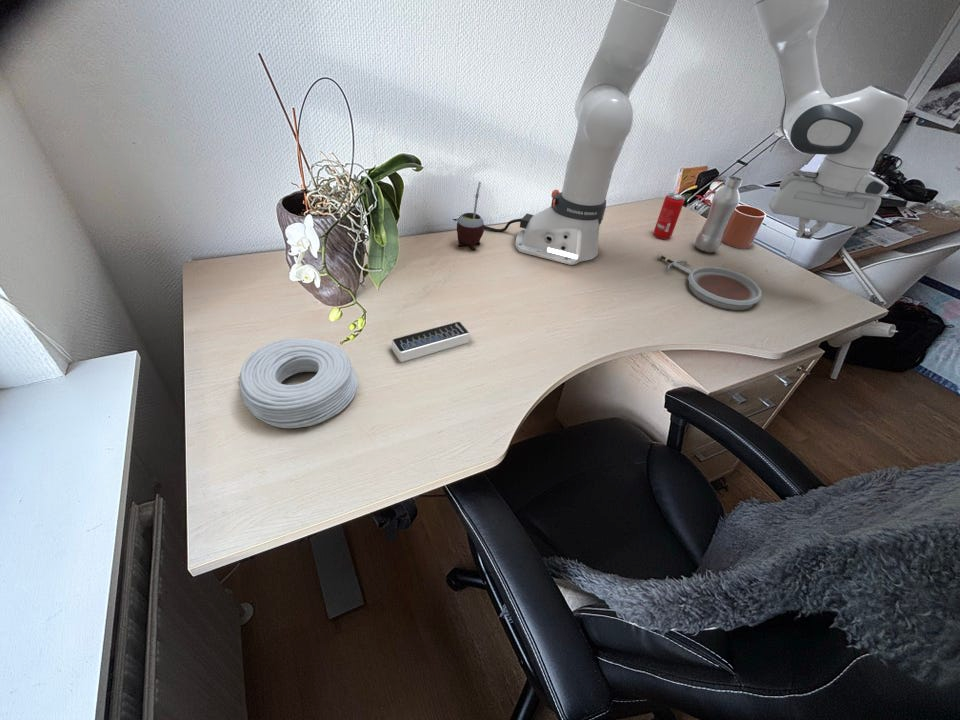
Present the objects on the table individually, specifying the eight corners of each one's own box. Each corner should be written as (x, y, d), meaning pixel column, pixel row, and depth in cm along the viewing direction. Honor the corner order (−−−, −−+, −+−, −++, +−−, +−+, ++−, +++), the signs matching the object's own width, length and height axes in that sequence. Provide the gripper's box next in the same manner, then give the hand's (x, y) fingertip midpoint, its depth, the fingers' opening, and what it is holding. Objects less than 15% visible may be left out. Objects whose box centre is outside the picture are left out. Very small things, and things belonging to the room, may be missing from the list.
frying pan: (678, 243, 126) (777, 289, 109) (675, 253, 128) (771, 299, 111) (639, 257, 118) (739, 308, 101) (636, 267, 120) (734, 319, 103)
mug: (754, 242, 136) (769, 211, 130) (745, 251, 131) (761, 219, 125) (716, 229, 142) (729, 199, 136) (706, 237, 137) (719, 206, 130)
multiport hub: (391, 348, 86) (390, 339, 85) (459, 330, 92) (459, 320, 91) (400, 362, 83) (399, 352, 82) (469, 342, 90) (470, 332, 88)
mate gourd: (461, 253, 117) (465, 195, 108) (450, 239, 123) (453, 183, 113) (488, 249, 120) (493, 193, 110) (476, 236, 125) (480, 181, 116)
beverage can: (649, 232, 136) (662, 192, 128) (663, 231, 137) (678, 192, 130) (659, 240, 132) (673, 199, 125) (674, 239, 134) (689, 199, 126)
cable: (236, 376, 78) (226, 349, 74) (337, 347, 85) (333, 321, 81) (259, 448, 67) (248, 421, 63) (372, 408, 74) (369, 381, 70)
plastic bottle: (702, 255, 127) (733, 183, 114) (688, 244, 132) (716, 174, 119) (721, 254, 128) (754, 182, 115) (706, 243, 133) (736, 173, 120)
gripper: (793, 172, 94) (760, 235, 103) (897, 189, 93) (854, 251, 102) (783, 163, 99) (753, 224, 108) (882, 179, 97) (843, 239, 106)
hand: (802, 237), depth 105 cm, fingers closed
